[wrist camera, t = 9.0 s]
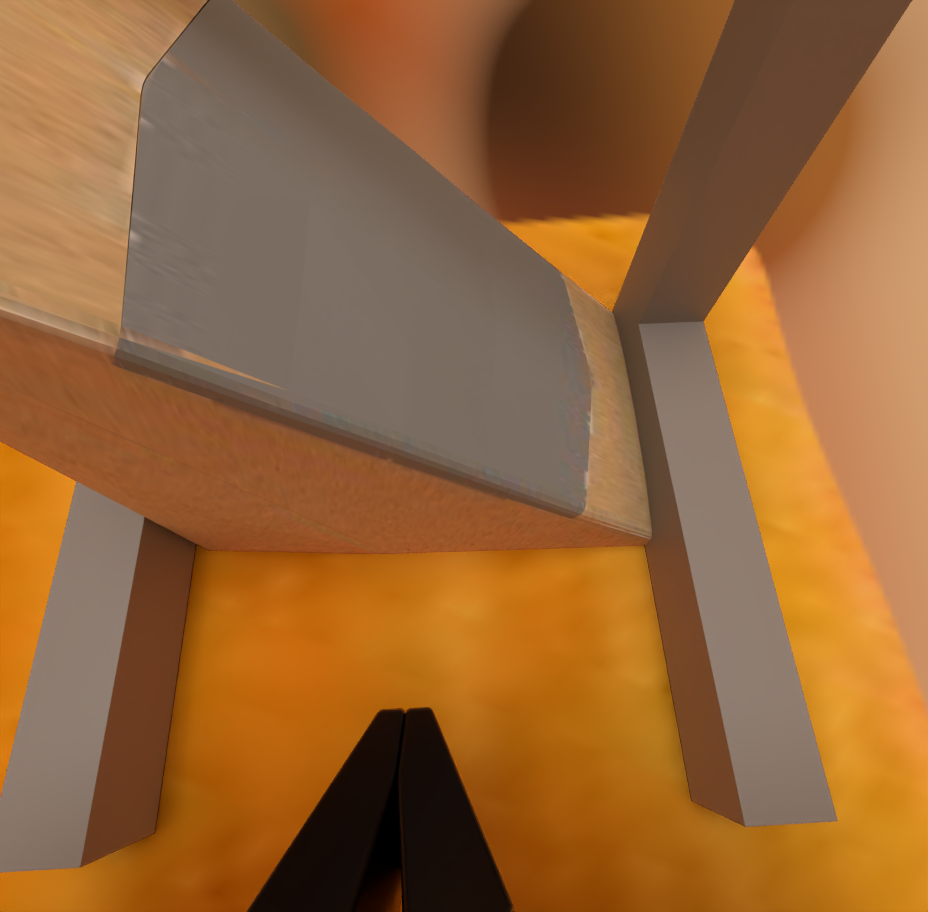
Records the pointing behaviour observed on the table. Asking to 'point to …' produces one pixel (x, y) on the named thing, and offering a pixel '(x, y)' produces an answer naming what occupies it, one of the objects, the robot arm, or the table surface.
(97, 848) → the grey frame stand
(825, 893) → the table surface
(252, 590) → the table surface
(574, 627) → the table surface
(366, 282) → the sandwich container
